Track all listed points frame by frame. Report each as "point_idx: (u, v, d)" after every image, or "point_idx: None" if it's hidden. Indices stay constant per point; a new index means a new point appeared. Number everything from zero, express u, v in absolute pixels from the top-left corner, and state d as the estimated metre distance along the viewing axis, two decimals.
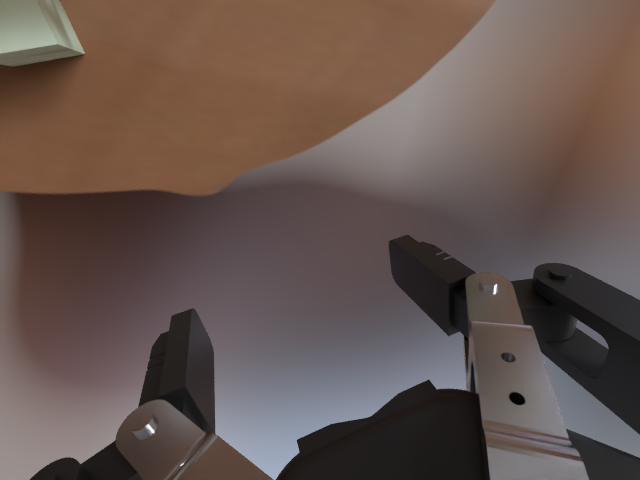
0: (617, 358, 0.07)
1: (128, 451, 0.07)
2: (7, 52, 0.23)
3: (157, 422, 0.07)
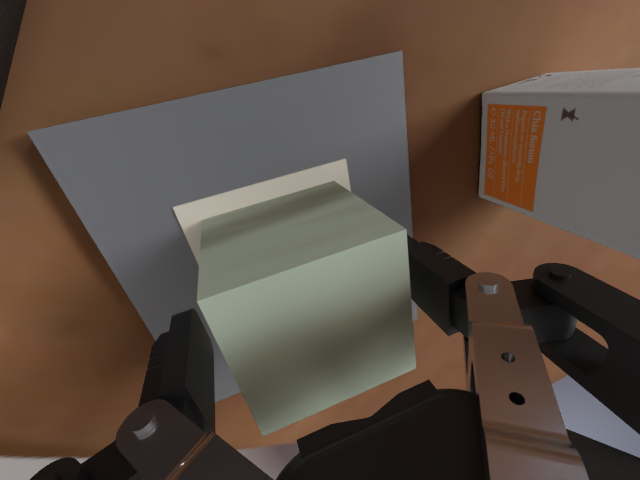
0: (617, 358, 0.07)
1: (128, 451, 0.07)
2: None
3: (157, 422, 0.07)
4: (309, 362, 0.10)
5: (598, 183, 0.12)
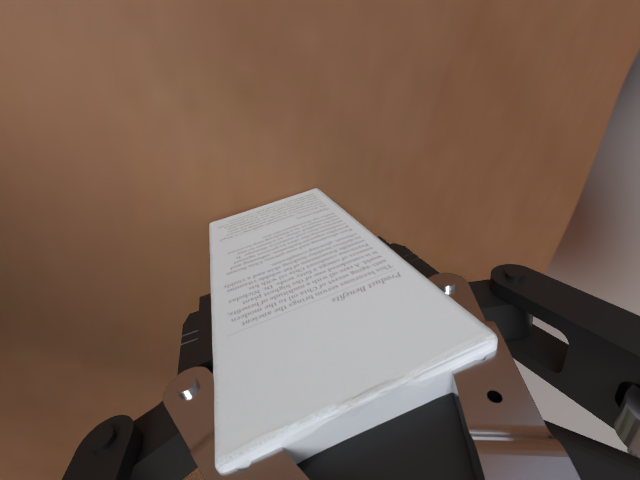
0: (577, 352, 0.07)
1: (172, 408, 0.07)
2: None
3: (200, 385, 0.08)
4: None
5: None
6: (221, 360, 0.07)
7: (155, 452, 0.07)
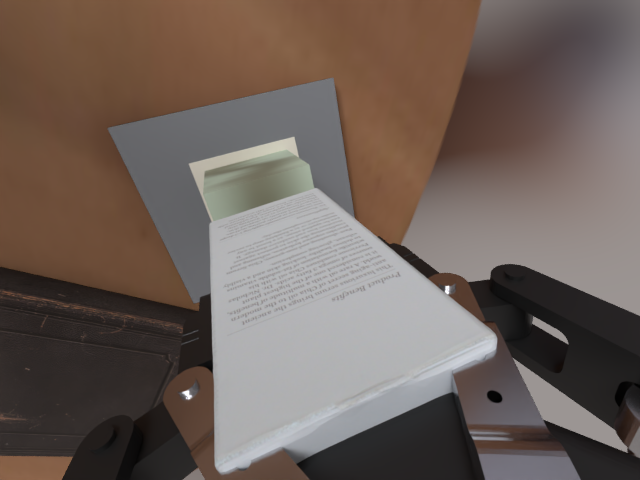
0: (577, 352, 0.07)
1: (172, 408, 0.07)
2: None
3: (200, 385, 0.08)
4: None
5: None
6: (221, 359, 0.07)
7: (156, 451, 0.07)
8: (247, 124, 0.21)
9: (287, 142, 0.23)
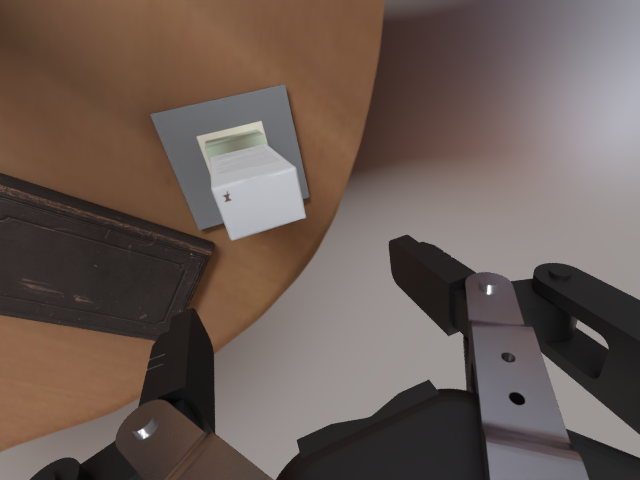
0: (617, 358, 0.07)
1: (128, 451, 0.07)
2: None
3: (157, 422, 0.07)
4: None
5: None
6: (213, 178, 0.22)
7: None
8: (232, 112, 0.35)
9: (257, 124, 0.36)
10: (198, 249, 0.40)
